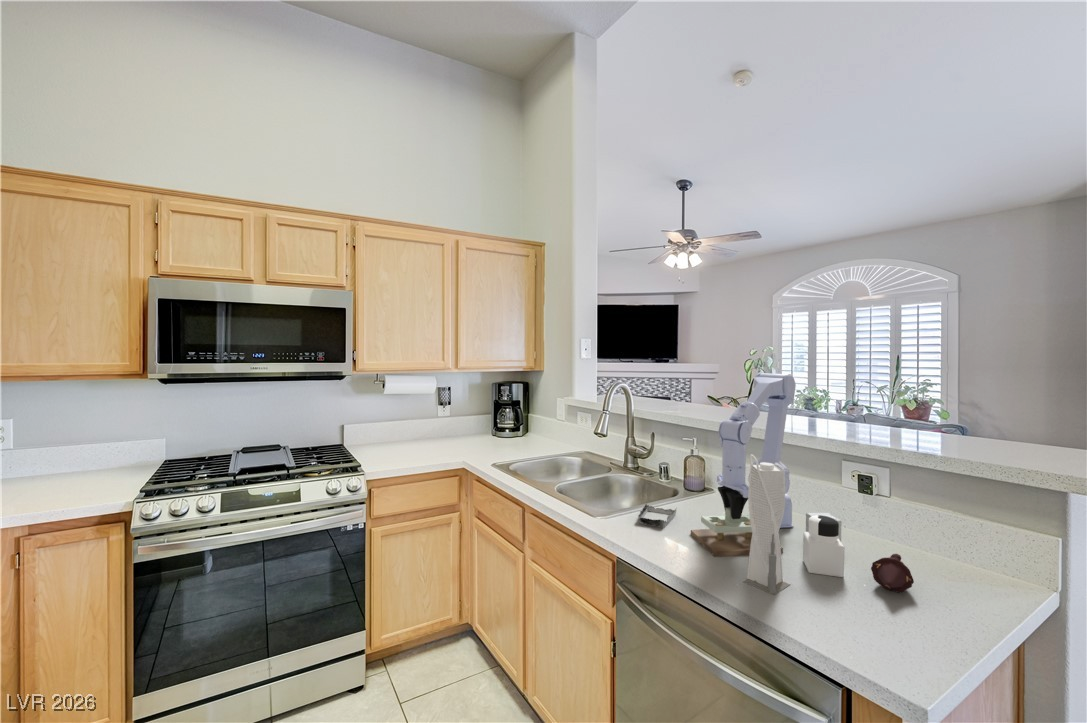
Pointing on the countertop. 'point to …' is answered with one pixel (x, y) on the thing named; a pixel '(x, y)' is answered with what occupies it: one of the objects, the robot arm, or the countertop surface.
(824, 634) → the countertop surface
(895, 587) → the dark maroon knobbed disc
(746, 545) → the board
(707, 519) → the panel
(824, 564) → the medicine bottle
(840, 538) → the skincare box
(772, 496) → the skyscraper
